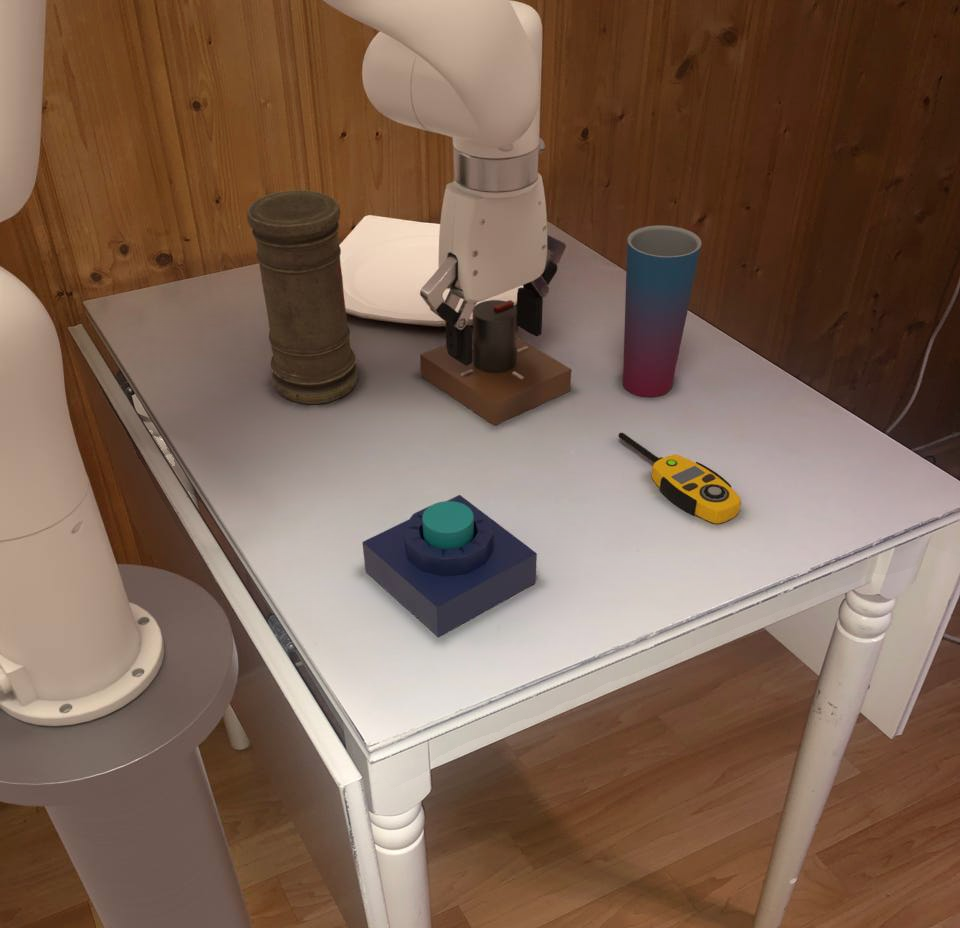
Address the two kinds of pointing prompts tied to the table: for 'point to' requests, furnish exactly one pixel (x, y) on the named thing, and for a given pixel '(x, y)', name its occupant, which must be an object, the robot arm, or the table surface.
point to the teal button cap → (448, 525)
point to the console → (498, 382)
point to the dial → (495, 335)
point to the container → (304, 295)
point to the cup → (656, 305)
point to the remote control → (692, 486)
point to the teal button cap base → (449, 570)
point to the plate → (394, 271)
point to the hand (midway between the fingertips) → (495, 344)
